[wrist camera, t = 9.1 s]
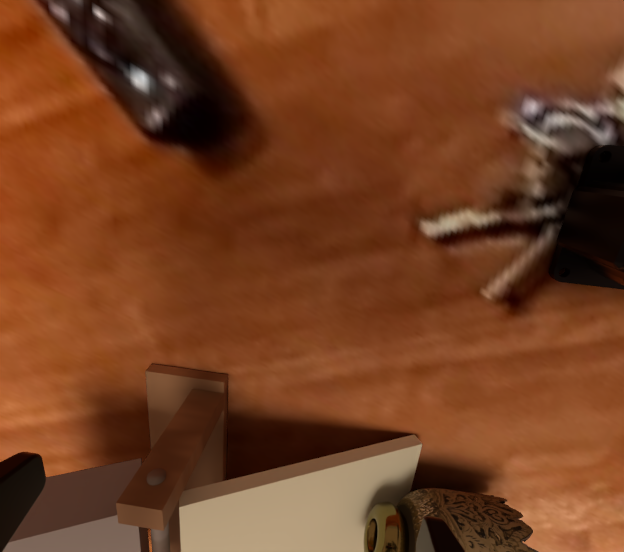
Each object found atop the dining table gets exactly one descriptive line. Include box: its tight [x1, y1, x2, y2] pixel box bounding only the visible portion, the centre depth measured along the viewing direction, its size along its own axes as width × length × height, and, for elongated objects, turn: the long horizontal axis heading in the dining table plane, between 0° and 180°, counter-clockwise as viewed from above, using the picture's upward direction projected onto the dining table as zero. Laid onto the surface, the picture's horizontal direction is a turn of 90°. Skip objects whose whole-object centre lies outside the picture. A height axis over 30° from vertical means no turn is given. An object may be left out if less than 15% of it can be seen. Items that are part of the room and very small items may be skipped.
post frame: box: [116, 364, 228, 552], centre depth 21 cm, size 5×18×8 cm, turn 174°
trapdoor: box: [3, 434, 422, 552], centre depth 21 cm, size 23×13×3 cm, turn 85°
